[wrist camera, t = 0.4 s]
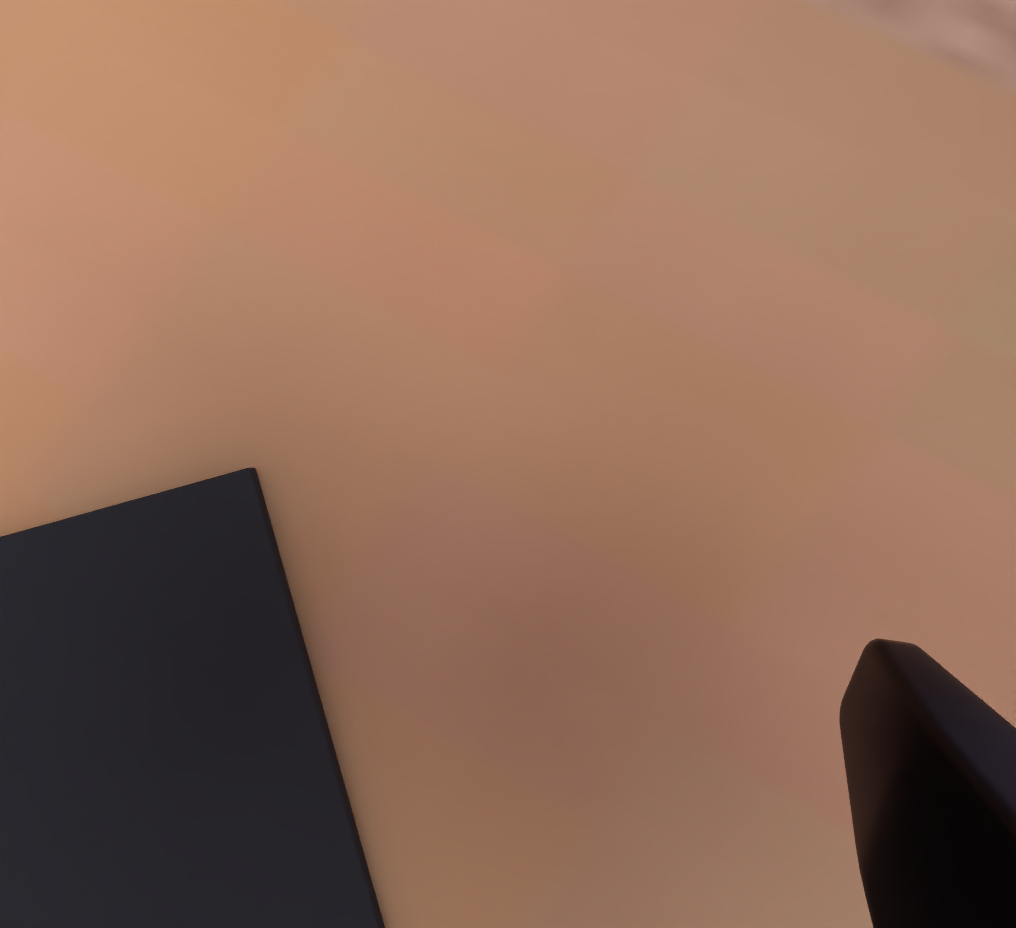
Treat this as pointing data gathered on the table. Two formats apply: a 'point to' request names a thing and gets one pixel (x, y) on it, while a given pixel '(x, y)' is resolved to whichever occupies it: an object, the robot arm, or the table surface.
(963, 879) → the robot arm
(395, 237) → the table surface
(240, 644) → the mat
